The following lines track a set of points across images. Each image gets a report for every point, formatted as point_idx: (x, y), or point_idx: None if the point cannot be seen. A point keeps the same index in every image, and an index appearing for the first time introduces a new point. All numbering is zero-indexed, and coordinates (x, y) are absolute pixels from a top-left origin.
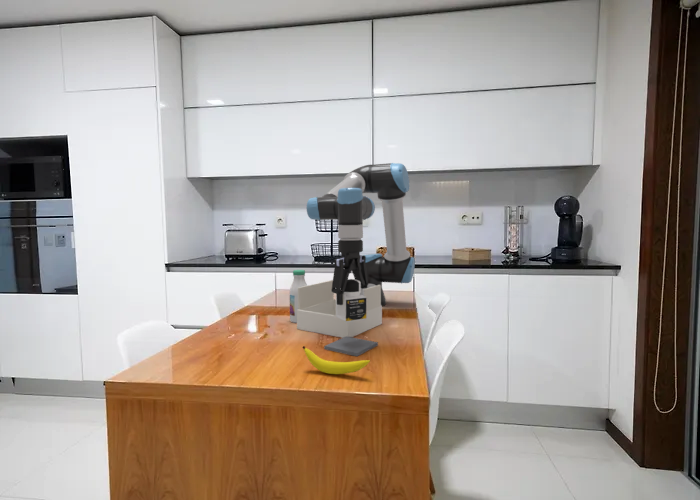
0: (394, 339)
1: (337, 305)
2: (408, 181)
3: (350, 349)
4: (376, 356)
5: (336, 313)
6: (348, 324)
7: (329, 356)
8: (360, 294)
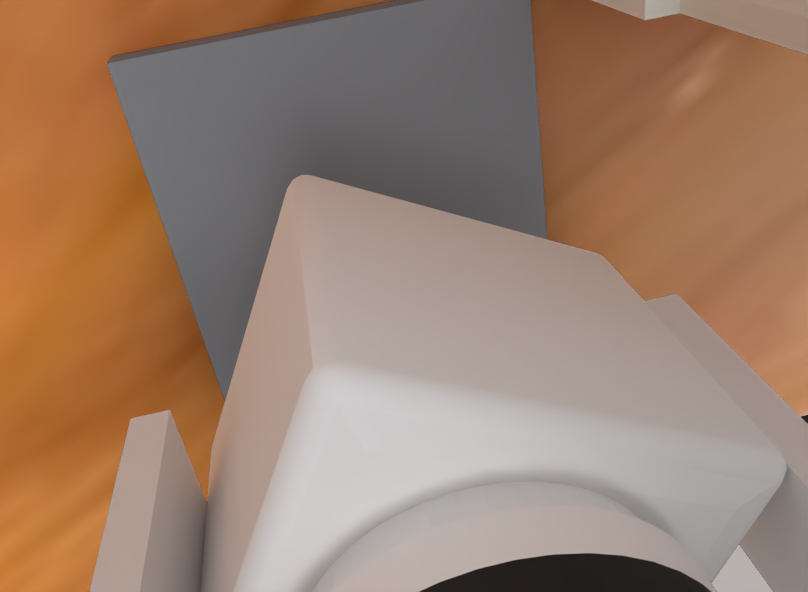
0: (753, 300)
1: (106, 537)
2: None
3: (247, 314)
4: None
5: (285, 219)
6: (611, 3)
7: (35, 247)
8: (771, 544)
